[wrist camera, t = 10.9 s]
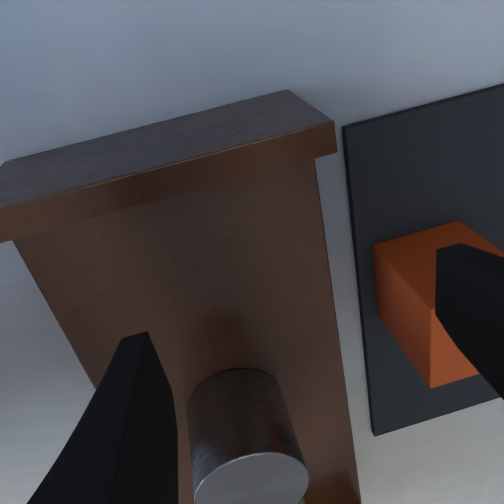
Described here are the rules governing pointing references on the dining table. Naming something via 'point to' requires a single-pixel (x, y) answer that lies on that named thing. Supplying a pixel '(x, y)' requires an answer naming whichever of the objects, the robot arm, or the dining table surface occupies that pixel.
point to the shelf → (198, 261)
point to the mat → (421, 227)
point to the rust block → (422, 299)
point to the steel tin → (243, 442)
